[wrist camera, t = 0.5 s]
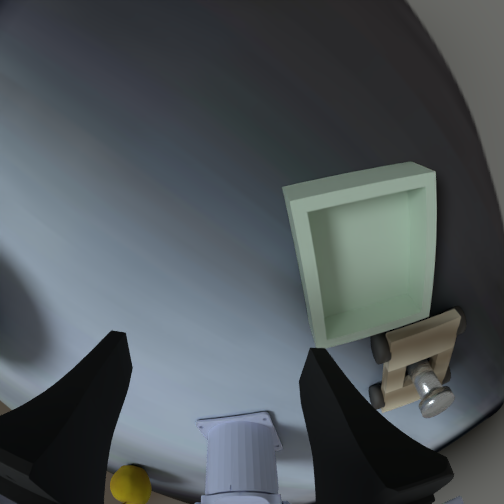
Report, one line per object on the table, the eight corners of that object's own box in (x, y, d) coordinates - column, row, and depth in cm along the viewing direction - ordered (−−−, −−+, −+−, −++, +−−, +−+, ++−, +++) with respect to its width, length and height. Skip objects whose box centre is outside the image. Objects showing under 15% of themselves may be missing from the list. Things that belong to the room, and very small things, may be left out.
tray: (412, 295, 22) (429, 316, 20) (309, 324, 23) (316, 350, 20) (411, 161, 18) (435, 171, 15) (282, 186, 18) (289, 201, 16)
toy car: (436, 378, 28) (445, 394, 26) (367, 403, 29) (374, 421, 27) (455, 297, 23) (470, 313, 21) (370, 326, 24) (381, 346, 21)
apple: (119, 454, 34) (110, 498, 27) (159, 467, 36) (153, 511, 29) (112, 464, 36) (103, 504, 29) (148, 477, 38) (142, 516, 31)
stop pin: (421, 358, 26) (449, 409, 20) (394, 368, 27) (419, 422, 20) (425, 337, 25) (458, 389, 19) (397, 347, 25) (426, 403, 19)
